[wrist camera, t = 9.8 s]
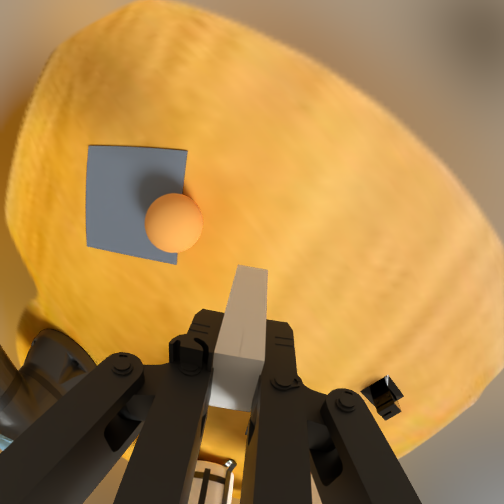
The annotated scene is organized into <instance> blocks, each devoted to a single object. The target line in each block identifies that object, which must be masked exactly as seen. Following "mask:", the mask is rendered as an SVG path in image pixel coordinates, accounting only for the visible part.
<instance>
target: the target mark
mask: <svg viewBox="0 0 504 504" xmlns="http://www.w3.org/2000/svg"><path fill="white" fill-rule="evenodd" d="M187 152H188V151H182V150H170V149H158V148H143V147H122V146H89V150H88V162H87V180H86V234H87V246H88V247H93V248H97V249H102V250H107V251H111V252H116V253H121V254H126V255H130V256H135V257H140V258H145V259H150V260H155V261H160V262H165V263H170V264H175V265H176V264H177V253H169V252H165V251H162V250H160V249H158V248H157V247H155V246H154V245H153V244H152V243H151V241H150V240H149V238H148V236H147V234H146V231H145V216H146V213H147V211H148V209H149V207H150V205H151V204H152V203H153V202H154V201H155V200H156V199H158V198H159V197H161V196H163V195H166V194H171V193H177V194H182V193H183V184H184V175H185V167H186V159H187Z"/></svg>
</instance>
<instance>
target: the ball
mask: <svg viewBox="0 0 504 504" xmlns="http://www.w3.org/2000/svg"><path fill="white" fill-rule="evenodd" d="M202 228H203V217H202V213H201V210H200V208H199V207H198V205H197V204H196V203H195V202H194V201H193V200H192V199H191V198H189V197H187V196H185V195H182V194H177V193H171V194H166V195H163V196H161V197H159V198H158V199H156V200H155V201H154V202H153V203H152V204H151V205H150V207H149V209H148V211H147V213H146V216H145V231H146V234H147V236H148V238H149V240H150V241H151V243H152V244H153V245H154V246H155V247H157V248H158V249H160V250H162V251H165V252H169V253H177V252H182V251H185V250H187V249H189V248H190V247H191V246H193V245H194V244H195V243H196V241H197V240H198V239H199V237H200V235H201V232H202Z"/></svg>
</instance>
